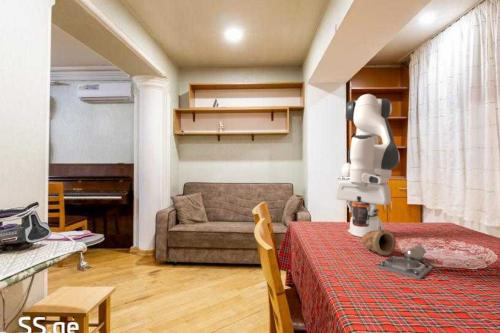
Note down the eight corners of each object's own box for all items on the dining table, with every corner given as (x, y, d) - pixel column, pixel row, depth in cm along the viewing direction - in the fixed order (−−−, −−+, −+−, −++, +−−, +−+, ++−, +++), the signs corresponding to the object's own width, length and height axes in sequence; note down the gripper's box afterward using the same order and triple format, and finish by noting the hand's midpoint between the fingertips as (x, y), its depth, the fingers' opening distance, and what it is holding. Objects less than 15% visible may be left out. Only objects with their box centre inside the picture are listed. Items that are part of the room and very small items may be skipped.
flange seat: (400, 254, 122) (400, 242, 122) (439, 262, 112) (439, 249, 112) (377, 267, 106) (377, 254, 106) (420, 279, 96) (420, 264, 96)
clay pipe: (356, 260, 125) (390, 257, 114) (349, 235, 127) (382, 230, 117) (375, 250, 138) (407, 247, 127) (368, 228, 140) (399, 223, 129)
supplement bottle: (372, 227, 108) (373, 196, 107) (357, 227, 107) (358, 196, 106) (363, 223, 114) (364, 194, 113) (349, 223, 112) (350, 194, 112)
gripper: (332, 176, 115) (332, 211, 115) (385, 179, 100) (384, 219, 100) (341, 175, 119) (340, 209, 120) (392, 178, 104) (391, 216, 105)
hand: (361, 213), depth 110 cm, fingers closed on supplement bottle, 6 cm apart
